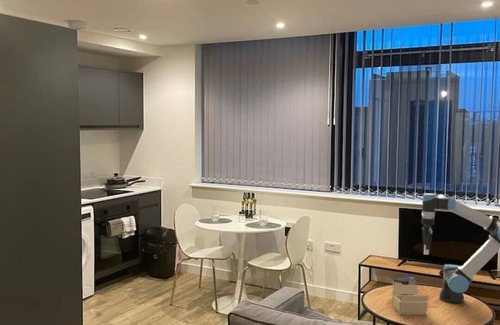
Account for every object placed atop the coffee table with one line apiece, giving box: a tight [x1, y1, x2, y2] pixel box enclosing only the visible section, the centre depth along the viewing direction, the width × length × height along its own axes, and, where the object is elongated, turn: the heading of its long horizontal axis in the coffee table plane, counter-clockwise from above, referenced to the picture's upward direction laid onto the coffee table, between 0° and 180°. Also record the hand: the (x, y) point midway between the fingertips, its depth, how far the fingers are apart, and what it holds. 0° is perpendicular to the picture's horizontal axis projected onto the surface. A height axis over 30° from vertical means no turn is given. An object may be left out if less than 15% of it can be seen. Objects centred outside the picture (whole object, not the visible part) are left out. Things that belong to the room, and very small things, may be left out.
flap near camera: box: [402, 294, 430, 303], centre depth 298 cm, size 15×6×1 cm
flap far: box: [392, 284, 420, 295], centre depth 314 cm, size 15×6×1 cm
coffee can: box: [391, 276, 409, 301], centre depth 326 cm, size 10×10×14 cm
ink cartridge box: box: [403, 273, 416, 295], centre depth 335 cm, size 10×6×14 cm, turn 92°
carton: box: [392, 295, 428, 316], centre depth 307 cm, size 17×12×8 cm
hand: (426, 254), depth 318 cm, fingers closed
